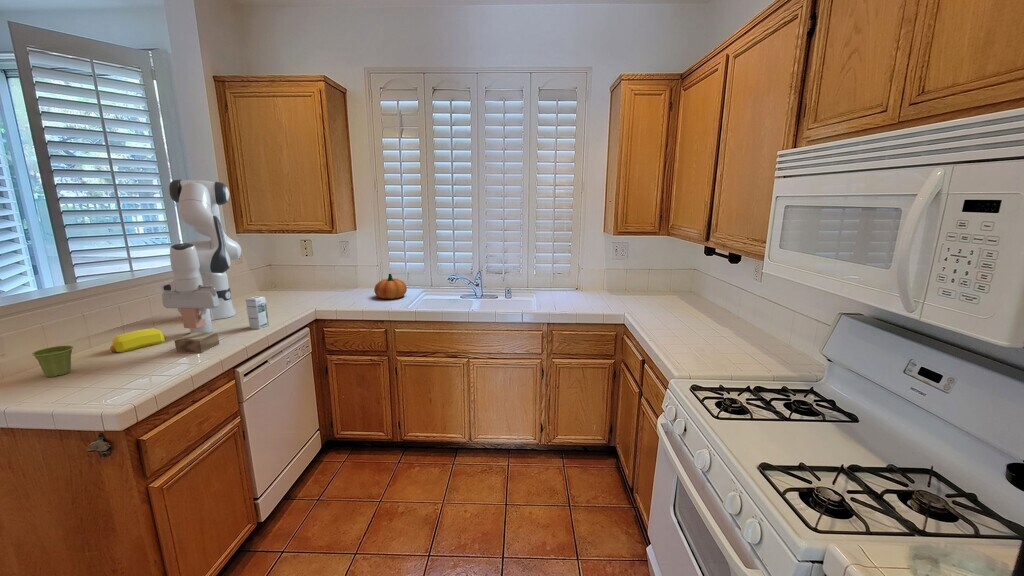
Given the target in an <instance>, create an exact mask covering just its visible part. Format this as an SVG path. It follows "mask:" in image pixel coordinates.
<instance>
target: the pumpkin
mask: <svg viewBox="0 0 1024 576" xmlns="http://www.w3.org/2000/svg"><path fill="white" fill-rule="evenodd" d="M407 290H408V286H407V284H406V283H405V282H404V281H403V280H401V279H399V278H393V276H392V273H388V278H383V279H381V280H379V281H378V282H377V283H376V284H375V286H374V289H373V292H374V294H375V295H376V297H378V298H380V299H383V300H393V299H399V298H402V297H404V296H405V295H406V293H407Z"/></svg>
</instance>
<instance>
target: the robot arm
mask: <svg viewBox="0 0 1024 576" xmlns="http://www.w3.org/2000/svg"><path fill="white" fill-rule="evenodd" d="M168 194H169V196H170V198H171V200H173V201H174V202H175V203H177V204H178V206H177V209H178V210H177V211H178V217H179V218H180V219H181V221H182V222H183V223H184V224H186V225H188V226H191V227H193V229H194V231H195V232H197V233H198V234H200V235H203V236H204V237H205V236H206V237H208V238H210V240H195V241H187V242H184V243H175V244H173V245H171V246H170V247H169V249H170V250H169V259H170V260H169V261H170V268H171V270H172V273H173V276H172V279H173V281H171V282H168V283H166V284H163V285H161V287H160V289H161V291H162V293H161V300H162V305H163V307H164V308H165V309H177V311H178V312H179V314H180V315H181V316H182V312H181V308H195V309H200V311H201V314H200V315H198V317H199V318H198V319H205V313H206V311H207V309H209V310H210V317H211V321H214V320H215V321H216V320H221V319H226V318H230V317H234V316H237V312H236V310H235V307H234V305H233V301H232V291H231V288H230V284H229V278H228V274H227V271H228V270H229V269H230V268H231V264H232V263H231V261H236V260H238V259H239V258H240V257H241V255H242V247H241V245H240V244H239V242H237V241H235V240H233V239H231V237H229V236H228V235H227V234H226V232H225V231H224V228H223V225H222V219H221V211H220V208H219V207H220V206H221V205H225V204H227V203H228V202H229V199H230V191H229V188H228V187H227V185H226V184H225V183H224V182H220V181H210V180H204V179H183V180H182V179H174V180H172V181H170V182H169V185H168Z"/></svg>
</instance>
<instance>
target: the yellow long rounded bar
mask: <svg viewBox="0 0 1024 576" xmlns="http://www.w3.org/2000/svg"><path fill="white" fill-rule="evenodd" d="M166 338H167V336H166V334H164V333H163V331H161V330H160V329H158V328H157V329H156V328H155V327H152V328H145V329H144V328H143V329H138V330H133V331H129V332H125V333H121V334H118V335H115V337H114V338H113V339H112V341H111V343H112V344H111V346H110V348H109V350H110V351H111V352H117V353H126V352H129V351H133V350H136V349H140V348H144V347H151V346H155V345H159V343H160V344H162V343H164V342H165V341H166Z"/></svg>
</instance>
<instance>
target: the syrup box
mask: <svg viewBox="0 0 1024 576" xmlns="http://www.w3.org/2000/svg"><path fill="white" fill-rule="evenodd" d="M245 303H246V304H245V305H246V313H247V318H248V325H249V329H254V328H256V330H257V329H259V330H260V329H264V328H266V327H268V326H270V324H269V317H268V311H267V309H268V308H267V301H266V297H265V296H263V295H262V296H261V295H257V296H252V297H249V298H246V299H245Z"/></svg>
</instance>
